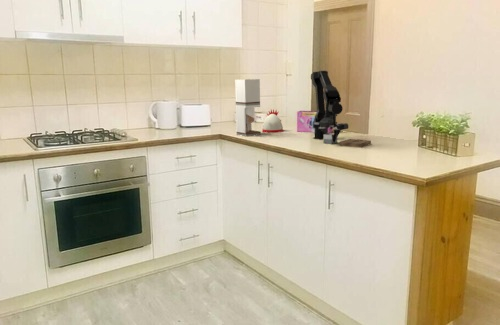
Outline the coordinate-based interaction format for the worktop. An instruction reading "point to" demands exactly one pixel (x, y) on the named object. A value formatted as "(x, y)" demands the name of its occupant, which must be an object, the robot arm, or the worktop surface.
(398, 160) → the worktop surface
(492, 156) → the worktop surface
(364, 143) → the walnut stand
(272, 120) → the white dome
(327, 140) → the block
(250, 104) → the coffee grinder
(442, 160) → the worktop surface
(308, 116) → the gum box
